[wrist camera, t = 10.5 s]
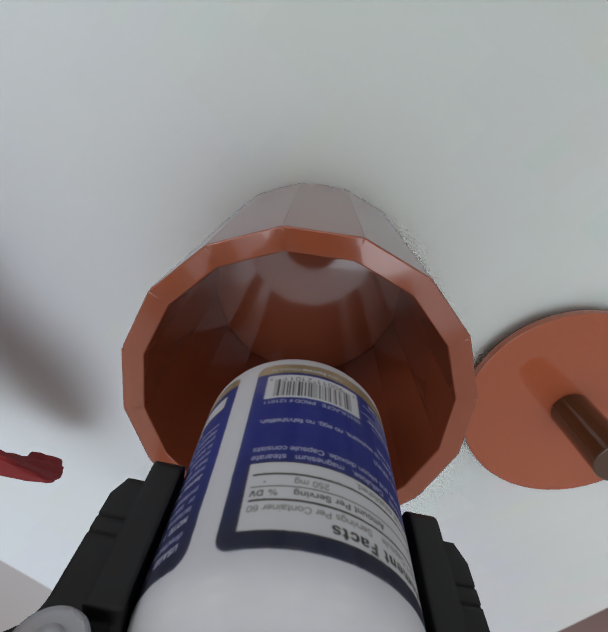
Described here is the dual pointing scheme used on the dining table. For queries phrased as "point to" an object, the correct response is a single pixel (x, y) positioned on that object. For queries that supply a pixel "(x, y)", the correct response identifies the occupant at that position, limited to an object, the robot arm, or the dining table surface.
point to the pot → (303, 328)
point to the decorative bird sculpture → (31, 467)
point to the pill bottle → (285, 516)
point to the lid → (545, 403)
